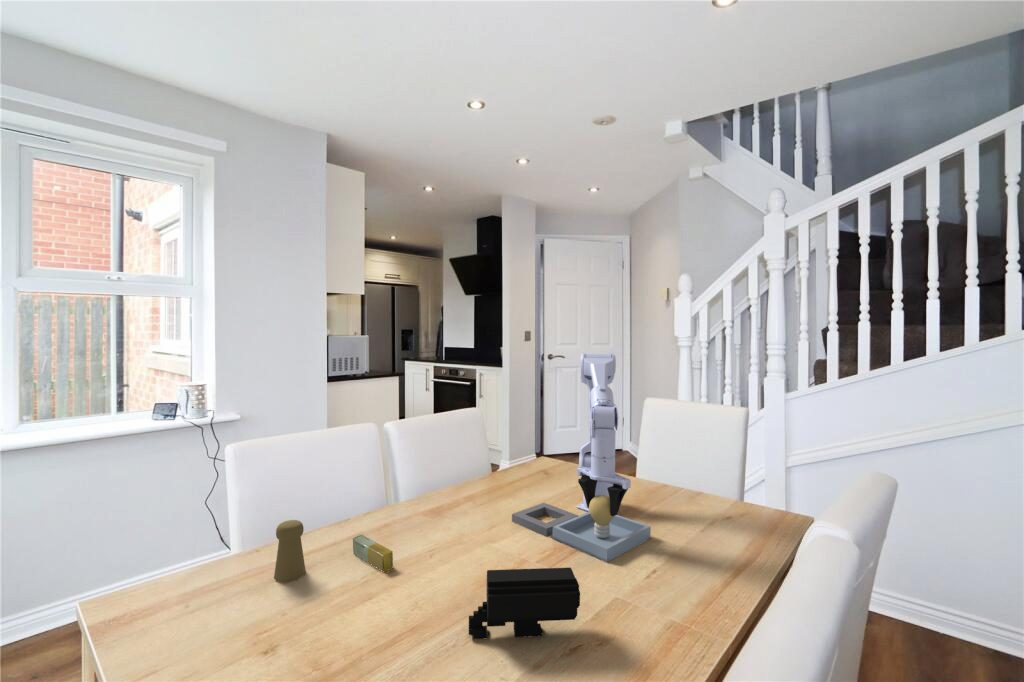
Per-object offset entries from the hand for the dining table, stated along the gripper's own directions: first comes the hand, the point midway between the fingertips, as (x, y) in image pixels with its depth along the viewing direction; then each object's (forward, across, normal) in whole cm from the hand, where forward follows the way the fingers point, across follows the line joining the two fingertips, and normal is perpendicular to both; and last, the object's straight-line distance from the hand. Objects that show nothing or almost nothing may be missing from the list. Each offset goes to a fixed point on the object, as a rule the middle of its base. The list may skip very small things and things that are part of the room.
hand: (602, 510), depth 120 cm
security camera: (+7, +13, -40) cm, 42 cm away
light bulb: (+6, 0, 0) cm, 7 cm away
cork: (+7, -33, -62) cm, 71 cm away
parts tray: (+7, 0, 0) cm, 7 cm away
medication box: (+8, -27, -46) cm, 54 cm away
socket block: (+7, -16, -3) cm, 18 cm away
